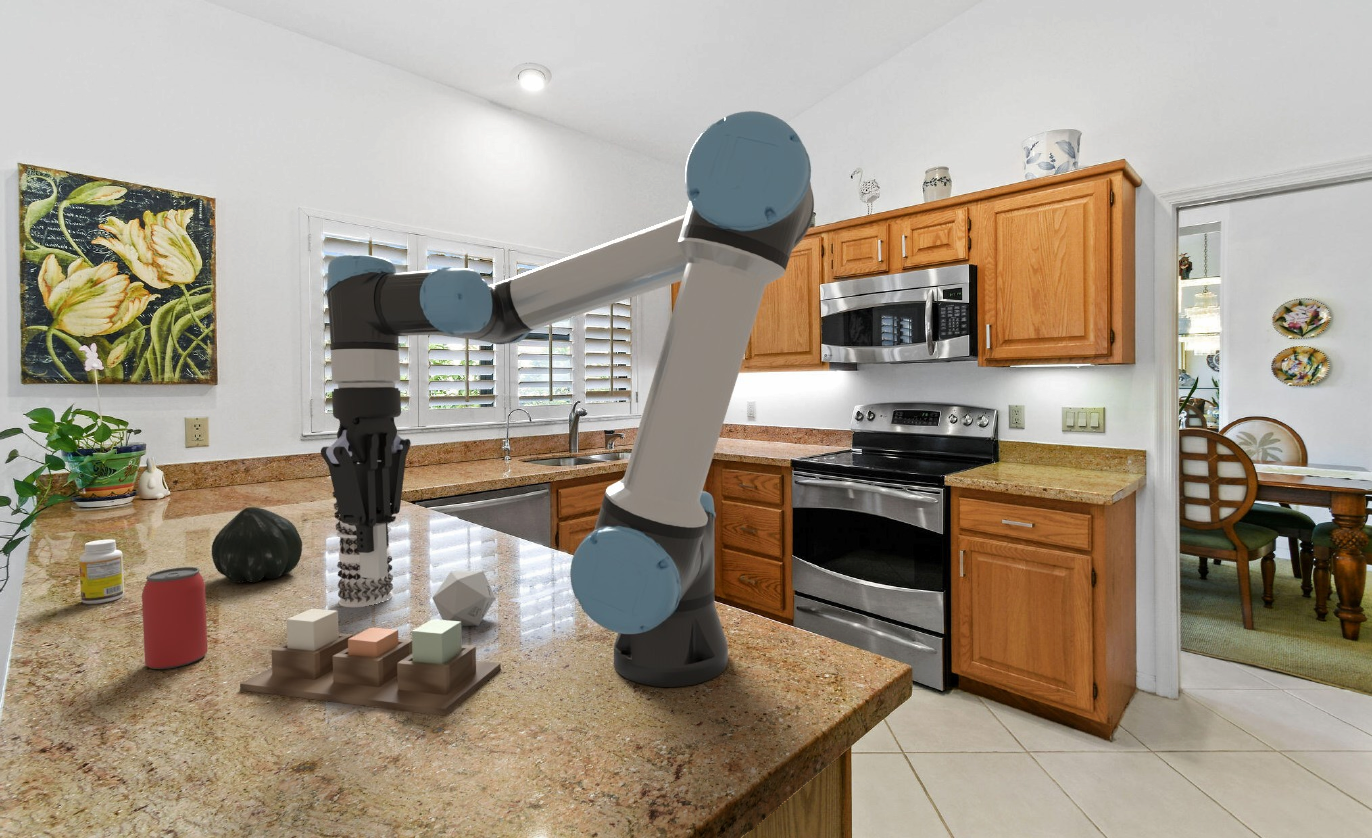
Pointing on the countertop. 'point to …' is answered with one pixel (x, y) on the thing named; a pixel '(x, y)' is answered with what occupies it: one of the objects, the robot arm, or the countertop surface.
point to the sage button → (436, 641)
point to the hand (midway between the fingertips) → (374, 575)
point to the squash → (256, 546)
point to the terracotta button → (373, 642)
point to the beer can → (174, 618)
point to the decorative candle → (358, 571)
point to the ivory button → (312, 629)
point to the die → (464, 597)
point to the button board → (373, 677)
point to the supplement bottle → (101, 572)
